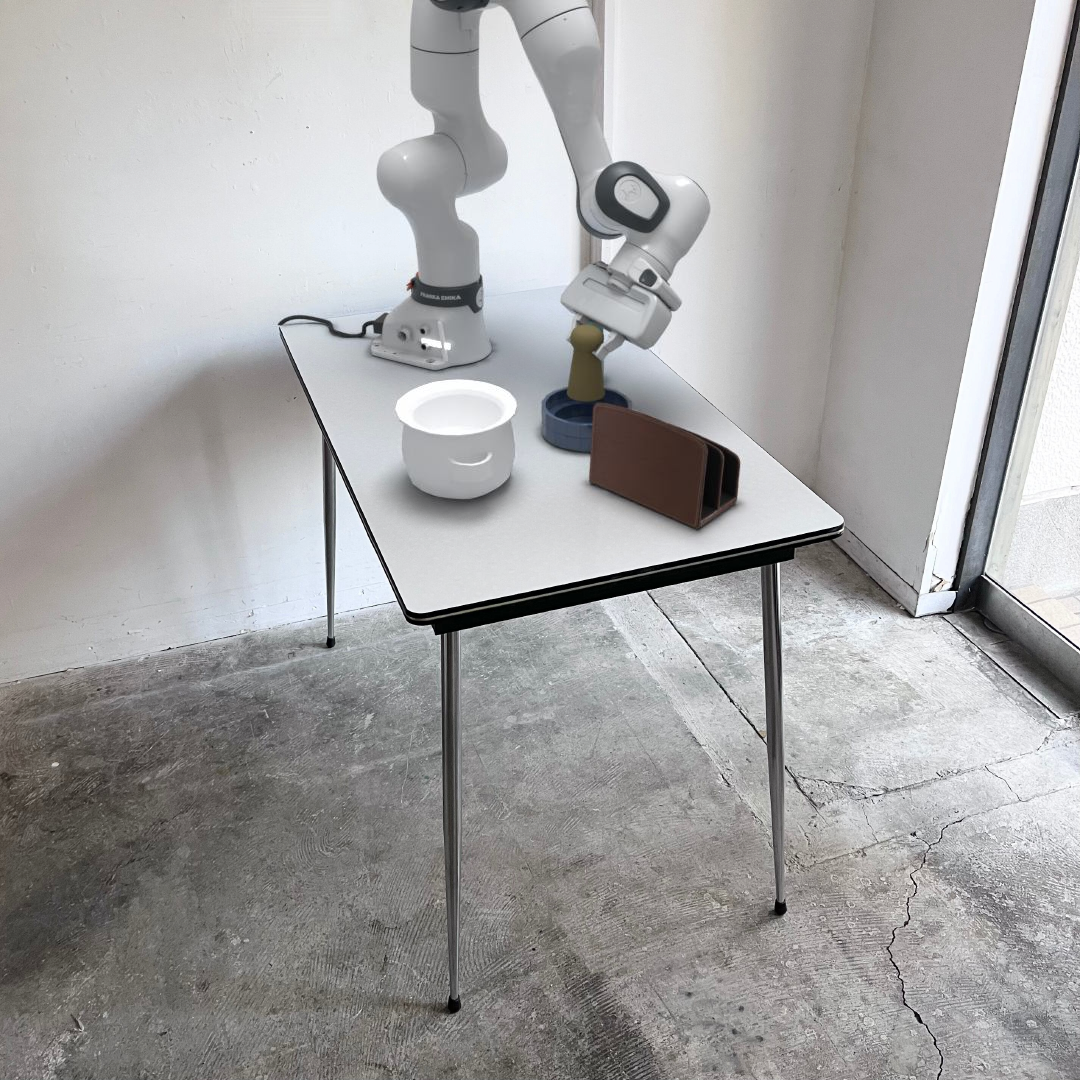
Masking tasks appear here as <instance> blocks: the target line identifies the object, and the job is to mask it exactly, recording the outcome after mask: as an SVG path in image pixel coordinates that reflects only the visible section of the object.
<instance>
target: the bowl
mask: <svg viewBox="0 0 1080 1080" xmlns="http://www.w3.org/2000/svg"><path fill="white" fill-rule="evenodd" d="M567 389H568V386H564V387H561V388H558V389H554V390H553V391H551V392H549V393H548V394H545V396H544V397H543V399H541V406H540V407H541V415H540V416H541V434H542V436H543V437H544V439H545V440H546V441H547V442H549V443H550V444H552V445H554V446H555V447H556V446H557V447H560V448H563V449H565V450H568V451H569V450H570V451H577V452H591V435H592V421H593V408H594V405H595V404H596V403H606V404H611V405H615V406H620V407H624V408H628V409H631V410H634V409H633V401H632V400H631V398H630V397H628V395H627V394H625V393H623V392H621V391H619V390H618V389H614V388H611V387H607V386H604V390H605V395H604V397H603V398H601V399H599V400H596V401H590V402H583V401H577V400H574V399H571V398H570V397H569V396H568V395H567Z"/></svg>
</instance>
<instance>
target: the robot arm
mask: <svg viewBox="0 0 1080 1080" xmlns="http://www.w3.org/2000/svg"><path fill="white" fill-rule="evenodd" d="M498 7H501V8H503V9H504V10H505V11H506V12H507V13H508V14H509V16H510V18H511V20H512V22H513V25H514V28H515V30H516V34H517V35H518V38H519V42H520V43H521V46H522V49H523V51H524V54H525V56H526V58H527V60H528V63H529V66H530V67H531V69H532V71H533V74H534V76H535V78H536V79H537V81H538V82H537V83H538V84H539V86H540V88H541V89H542V92H543V94H544V97H545V99H546V101H547V103H548V106H549V108H550V109H551V112H552V114H553V117H554V120H555V122H556V125H557V128H558V132H559V134H560V137H561V140H562V143H563V146H564V148H565V151H566V152H565V153H566V155H567V157H568V160H569V164H570V166H571V169H572V172H573V174H574V175H573V176H574V179H575V186H576V187H575V188H576V192H575V193H576V196H575V208H576V214H577V219H578V221H579V224H581V226H582V228H583V229H584V230H585V232H587V233H588V234H590V235H591V236H593V237H595V238H597V239H600V240H605V241H607V240H608V241H610V240H617V239H619V238H621V237H625V241H624V243H622V245H621V247H620V248H619V249H618V251H617V253H616V254H615V255H614V257H613V258H612V260H611V261H610V262H609V263H606V262H605V261H603V260H597V261H595V262H592V263H589V264H587V266H586V267H585V268H582V270H581V271H580V272H579V273H577V275H576V276H575V277H574V278H573V279H572V280H571V282H570V283H569V284H568V286H566V288H565V289H564V291H563V292H562V293H561V295H560V304H561V305H562V306H563V307H564V308H565V309H566V310H567V311H568V312H570V313H572V314H573V315H574V316H573V319H572V322H571V330H570V332H569V333H568V335H567V336H566V338H565V339H566V340H565V341H566V342H567V343H569V344H570V345H571V341H570V336H571V332H572V331H573V329H574V328H575V327H577V326H580V325H588V324H589V323H590V322H591V323H593V324H595V325H597V326H599V327H601V328H603V330H605V331H606V332H608V333H609V334H608V337H609V338H608V339H606V340H604V343H603V344H601V345H599V344H597V345H596V346H595V349H593V351H592V355H593V356H595V357H596V358H597V359H599V360H601V361H603V360H604V361H605V360H606V358H607V357H608V355H609V354H610V353H612V352H614V351H615V350H617V349H619V348H620V347H621V346H623V344H624V342H625V341H627V342H628V343H630V344H632V345H634V346H636V347H638V348H640V349H642V350H644V351H646V350H649V349H651V348H653V347H654V346H655V345H656V344H657V342H658V341H659V340H660V339H661V337H662V335H663V334H664V333H665V331H666V329H667V328H668V326H669V325H670V322H671V321H672V318H673V317H672V316H673V312H677V311H678V310H679V309H680V308H681V306H682V304H683V301H682V299H681V297H680V296H679V295H678V294H677V293H676V291H675V290H674V289H673V288H672V287H671V284H670V283H669V280H670V279H671V277H672V275H673V273H674V271H675V268H676V266H677V265H678V263H679V261H680V260H682V259H683V258H684V257H685V256H686V255H687V254H689V251H690V250H691V248H692V247H693V246H694V244H695V243H696V241H697V240H698V238H699V236H700V235H701V233H702V231H703V229H704V228H705V226H706V224H707V222H708V220H709V217H710V213H711V204H710V201H709V198H708V195H707V193H706V192H705V190H704V189H703V187H701V186H700V184H698V183H697V182H696V181H695V180H693V179H692V178H690V177H689V176H687V175H685V174H666V173H661V172H657V171H654V170H651V169H649V168H646V167H644V166H642V165H641V164H639V163H636V162H634V161H629V160H619V161H616V162H614V161H613V158H612V156H611V153H610V150H609V147H608V143H607V141H606V138H605V135H604V132H603V129H602V125H601V123H600V121H599V116H598V113H597V106H596V104H597V103H596V98H597V97H596V95H597V85H598V79H599V75H600V69H601V66H602V60H603V53H602V45H601V40H600V36H599V32H598V27H597V24H596V21H595V19H594V17H593V13H592V10H591V7H590V5H589V3H588V0H412V5H411V13H410V28H409V74H410V77H409V78H410V79H409V80H410V92H411V95H412V97H413V99H414V100H415V101H416V102H417V104H419V105H420V106H421V107H422V108H423V109H425V110H427V111H428V112H430V113H431V116H432V119H433V125H434V126H433V127H434V129H433V133H432V134H427V135H423V136H419V137H416V138H411V139H406V140H403V141H402V142H399V143H397V144H396V145H394V146H392V147H391V148H389V149H387V150H385V151H384V152H383V153H382V154H381V155H380V157H379V159H378V162H377V165H376V182H377V186H378V189H379V191H380V193H381V195H382V196H383V198H384V199H385V201H387V203H389V204H390V205H391V206H393V207H394V208H396V209H397V210H398V211H400V212H401V213H402V214H403V216H404V217H405V219H406V221H407V222H408V224H409V226H410V228H411V231H412V234H413V238H414V243H415V249H416V250H415V251H416V260H417V270H418V271H416V273H415V275H414V276H413V277H412V278H410V280H409V282H408V283H407V284H406V285H405V286H406V291H407V292H409V291H410V295H409V296H408V297H407V298H405V299H404V300H402V301H401V302H400V303H399V304H397V305H395V307H394V308H393V309H392V310H391V311H389V312H383V313H382V314H381V315H379V316H378V317H377V318H375V319H373V320H368V321H366V322H364V323H363V324H362V325H361V332H359V333H347V332H343V331H340V330H337V329H336V328H335V327H334V324H333V323H332V321H331V320H329V319H325V318H320V317H317V316H313V315H305V314H294V315H288V316H287V317H284V318H283V319H281V320H279V322H278V323H277V326H283V325H285V324H286V323H288V322H290V321H293V320H295V321H296V320H305V321H307V320H308V321H311V322H312V321H314V322H317V323H321V324H325V325H327V326H328V330H329V331H330V332H331V334H333V335H336V336H339V337H343V338H347V339H360V338H362V337H365V336H366V334H367V327H369V326H372V329H373V330H372V331H373V334H377V337H376V338H375V339H374V340H373V341H372V343H371V345H370V354H371V356H374V357H377V358H382V359H386V360H391V361H395V362H398V363H403V364H408V365H411V366H415V367H419V368H423V369H428V370H432V371H439V370H443V369H446V368H449V367H454V366H462V365H468V364H472V363H475V362H478V361H481V360H483V359H485V358H487V357H488V356H489V355H490V354H491V352H492V345H491V342H490V340H489V336H488V331H487V328H486V323H485V322H486V321H485V316H484V309H483V308H484V301H485V290H484V280H483V275H482V274H481V265H480V263H481V262H480V260H481V259H480V237H479V235H478V233H477V231H476V230H475V228H474V227H473V226H471V224H469V223H467V222H466V221H464V220H462V219H460V218H459V216H458V213H457V209H456V200H457V199H460V198H463V197H466V196H471V195H473V194H477V193H481V192H484V191H486V190H487V189H488V188H490V187H492V186H493V185H495V184H496V183H498V182H500V181H501V180H502V179H503V178H504V177H505V175H506V172H507V169H508V165H509V156H508V155H509V154H508V149H507V146H506V144H505V142H504V140H503V138H502V137H501V136H500V134H499V133H498V131H496V130H495V129H493V128H492V127H491V126H490V124H489V123H488V120H487V118H486V116H485V114H484V110H483V106H482V102H481V97H480V22H481V17H482V15H483V13H484V12H485V11H486V10H492V9H496V8H498Z"/></svg>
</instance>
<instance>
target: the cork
mask: <svg viewBox="0 0 1080 1080" xmlns="http://www.w3.org/2000/svg"><path fill="white" fill-rule="evenodd" d="M570 332H571V331H570ZM570 341H571V344H570V345H571V347H572V348H573V351H572V357H571V364H570V371H569V376H568V383H567V387H568V389H567V395H568V396H569V397H570V398H571V399H574V400H577V401H583V402H590V401H596V400H599V399H601V398H603V397H604V395H605V390H604V387H605V379H604V380H603V371H602V361H601V360H599V359H597V358H596V357H595V356H593V355H592V351H593V349H595V346H596V345H597V344H599V345H601V344H603V343H604V342H605V334H604V330H603V331H602V330H601V329H600V328H599V327H597V326H594V325H580V326H577V327H575V328H574V329H573V331H572V332H571V336H570Z"/></svg>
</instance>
